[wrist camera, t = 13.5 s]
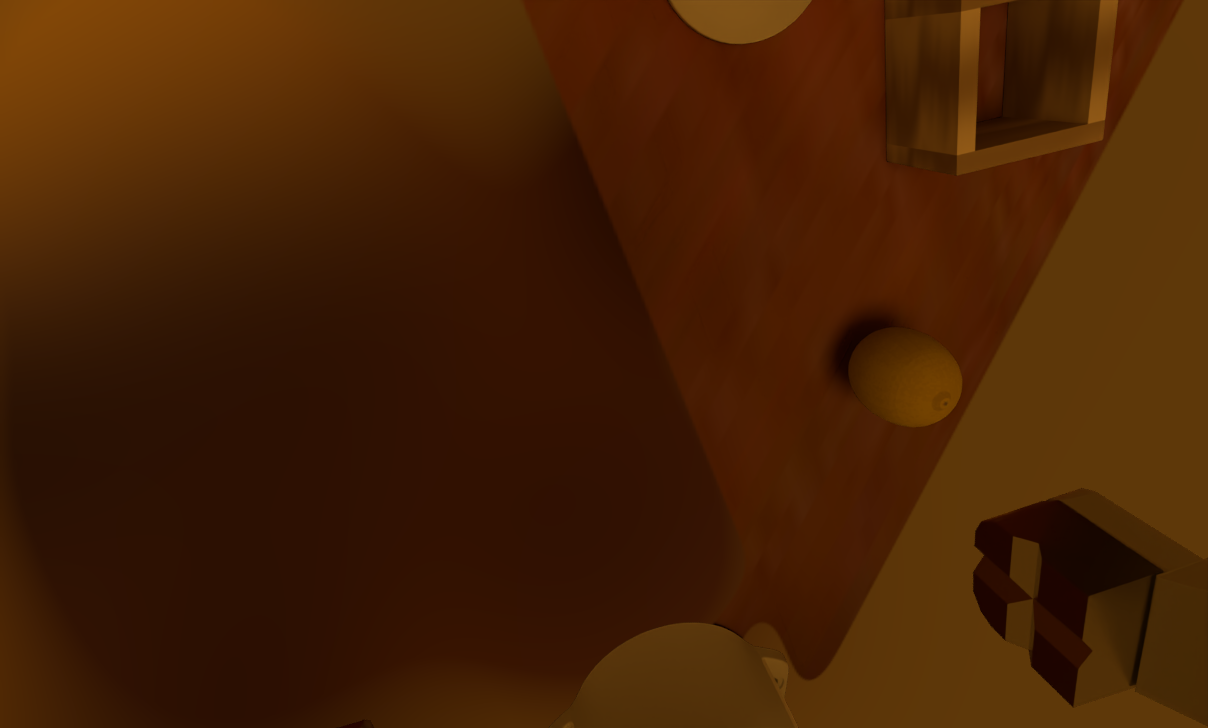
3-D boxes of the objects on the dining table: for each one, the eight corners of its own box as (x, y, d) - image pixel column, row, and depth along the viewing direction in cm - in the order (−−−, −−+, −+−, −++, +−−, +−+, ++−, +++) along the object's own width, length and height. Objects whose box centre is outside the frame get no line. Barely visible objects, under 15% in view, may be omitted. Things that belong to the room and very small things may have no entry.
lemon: (903, 301, 45) (993, 345, 38) (903, 378, 47) (988, 434, 40) (823, 322, 44) (900, 371, 37) (827, 400, 47) (900, 460, 39)
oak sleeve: (1016, 130, 42) (1102, 139, 37) (886, 161, 41) (956, 175, 36) (1026, -30, 39) (1123, -46, 33) (884, -1, 38) (961, -13, 32)
